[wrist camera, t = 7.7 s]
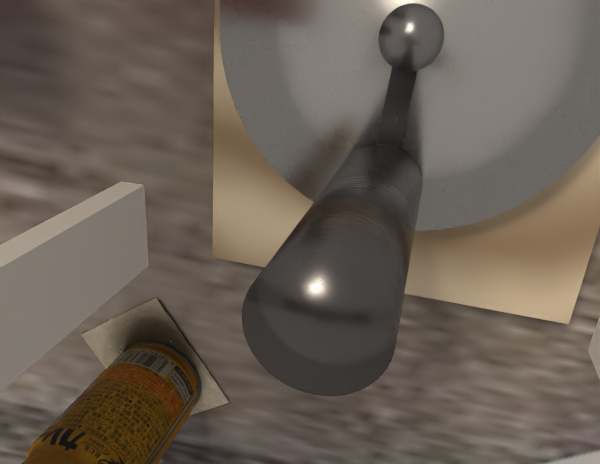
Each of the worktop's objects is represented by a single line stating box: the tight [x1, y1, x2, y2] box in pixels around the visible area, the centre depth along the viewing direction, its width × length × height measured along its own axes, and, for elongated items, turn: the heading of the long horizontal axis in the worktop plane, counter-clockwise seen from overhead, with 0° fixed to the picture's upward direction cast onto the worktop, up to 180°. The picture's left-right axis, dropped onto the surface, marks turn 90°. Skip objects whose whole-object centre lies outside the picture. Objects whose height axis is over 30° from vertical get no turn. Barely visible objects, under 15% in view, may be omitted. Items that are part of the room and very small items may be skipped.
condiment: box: [22, 298, 229, 464], centre depth 30 cm, size 7×8×12 cm
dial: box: [219, 0, 600, 396], centre depth 16 cm, size 16×16×14 cm
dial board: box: [213, 0, 600, 324], centre depth 23 cm, size 24×18×2 cm
